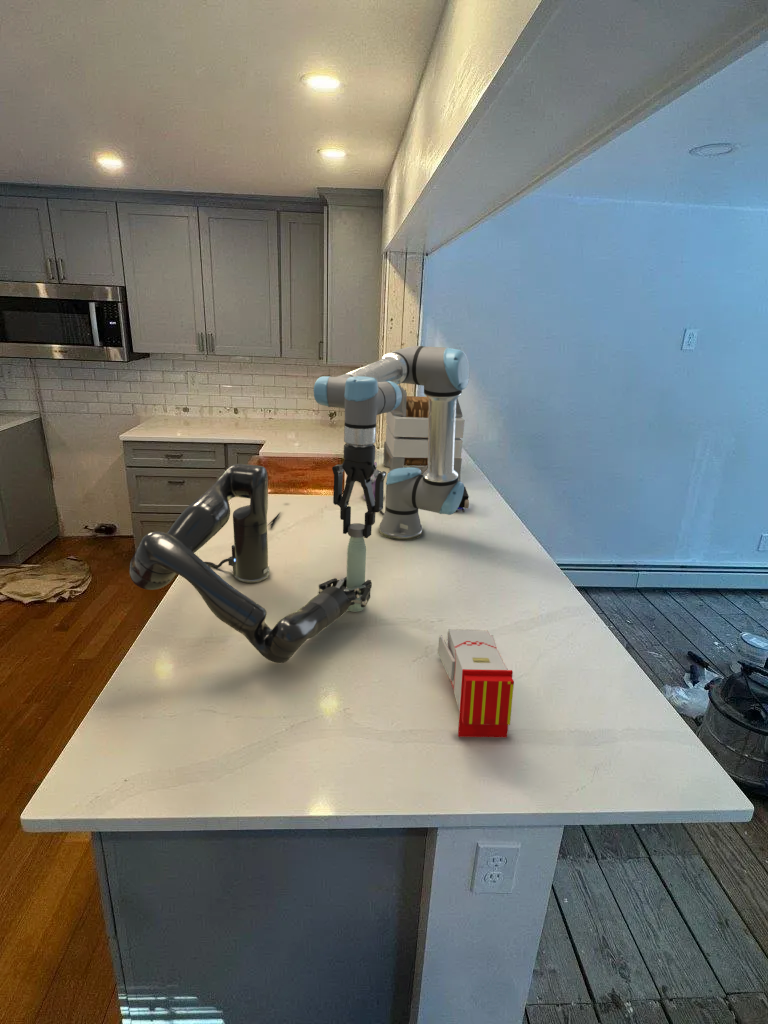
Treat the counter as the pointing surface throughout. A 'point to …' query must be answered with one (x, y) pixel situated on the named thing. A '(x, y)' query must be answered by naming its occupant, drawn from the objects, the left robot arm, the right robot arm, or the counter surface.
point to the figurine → (372, 483)
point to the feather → (273, 520)
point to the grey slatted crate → (415, 434)
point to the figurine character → (464, 501)
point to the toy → (478, 682)
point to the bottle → (356, 566)
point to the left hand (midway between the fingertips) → (360, 580)
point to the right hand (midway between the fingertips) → (357, 533)
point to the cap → (356, 530)
